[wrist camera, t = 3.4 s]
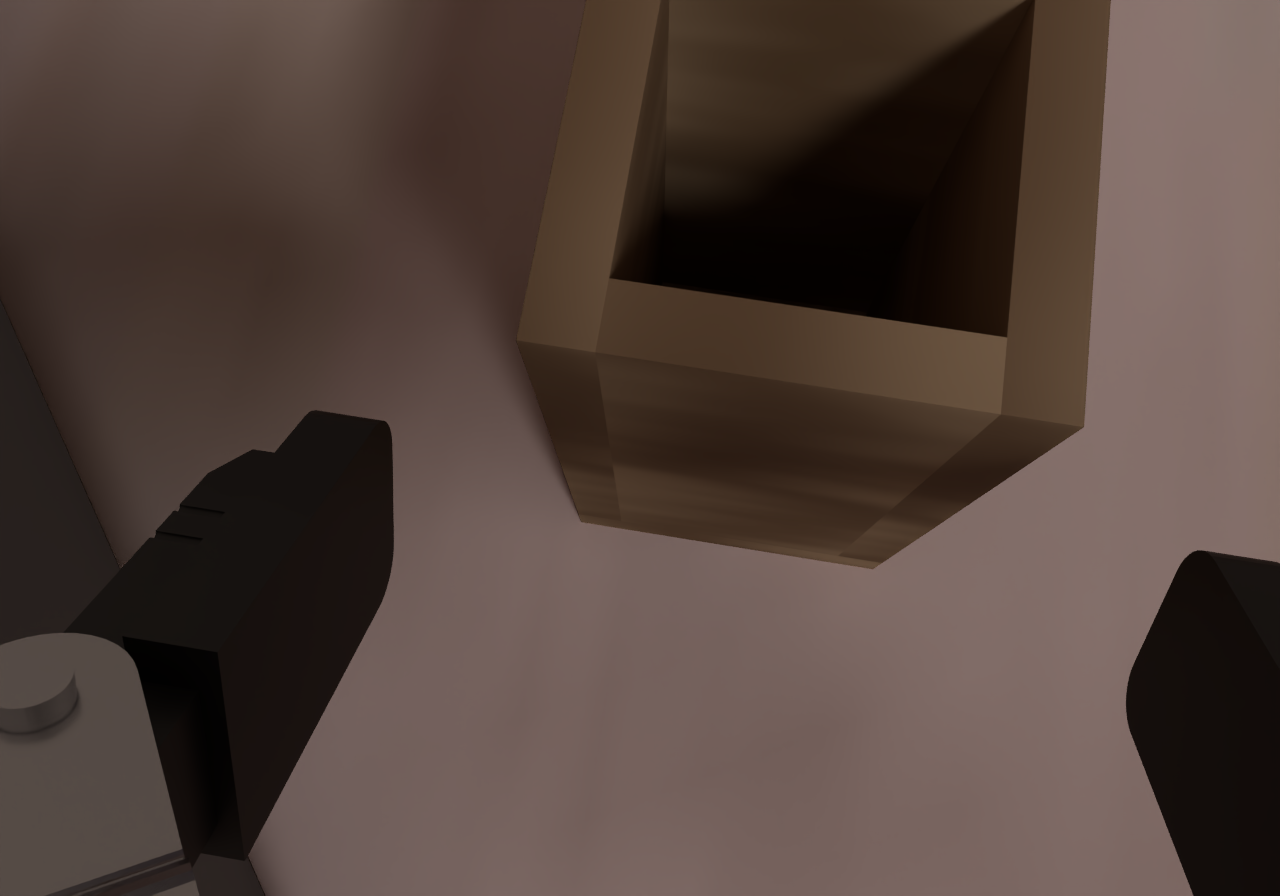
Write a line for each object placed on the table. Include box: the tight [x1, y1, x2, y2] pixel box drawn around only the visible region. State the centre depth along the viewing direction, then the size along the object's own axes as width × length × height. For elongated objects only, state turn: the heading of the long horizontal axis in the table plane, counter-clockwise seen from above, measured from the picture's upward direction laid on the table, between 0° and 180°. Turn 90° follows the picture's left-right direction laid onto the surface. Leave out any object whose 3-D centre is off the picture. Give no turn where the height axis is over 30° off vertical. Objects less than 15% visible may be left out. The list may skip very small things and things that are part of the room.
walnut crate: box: [516, 0, 1111, 569], centre depth 16 cm, size 6×6×10 cm
